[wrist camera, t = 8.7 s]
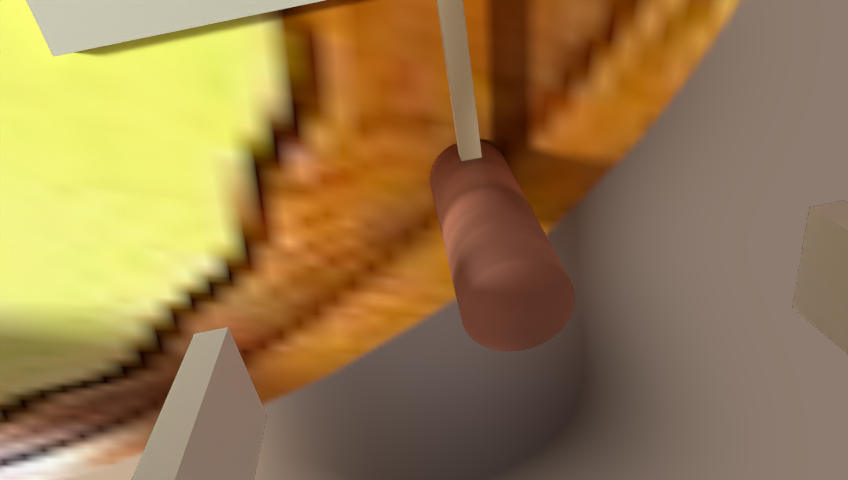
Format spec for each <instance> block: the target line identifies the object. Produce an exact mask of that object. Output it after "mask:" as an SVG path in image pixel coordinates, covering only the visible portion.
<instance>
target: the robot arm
mask: <svg viewBox="0 0 848 480" xmlns="http://www.w3.org/2000/svg"><path fill="white" fill-rule="evenodd" d="M792 308H793V309H795V310H796V311H797V312H798V313H799V314H801V315H802V316H803V317H804V318H805V319H807V320H808V321H809V322H810V323H811V324H812V325H814V326H815V327H816V328H818V330H820V331H821V332H822V333H823V334H824V335H825V336H827V337H828V338H829V339H830V340H831V341H833V342H834V343H835V344H836V345H837V346H839V347H840V348H841V349H842V350H843V351H844V352H846V353H847V354H848V203H847V202H845V201H844V200H843V201H838V202H833V203H828V204H823V205H818V206H813V207H810V208H809V213H808V218H807V224H806V230H805V236H804V242H803V248H802V253H801V259H800V265H799V271H798V276H797V282H796V288H795V294H794V299H793V306H792ZM266 418H267V415H266V413H265V410H264V408H263V405H262V403H261V401H260V399H259V396H258V394H257V392H256V389H255V387H254V385H253V383H252V380H251V378H250V376H249V373H248V371H247V369H246V367H245V364H244V362H243V360H242V357H241V355H240V353H239V350H238V348H237V346H236V344H235V341H234V339H233V337H232V334H231V332H230V330H229V328H228V327H226V328H221V329H216V330H211V331H206V332H201V333H197V334H194V336H193V338H192V340H191V343H190V345H189V347H188V350H187V352H186V354H185V357H184V359H183V361H182V363H181V366H180V368H179V370H178V373H177V375H176V377H175V380H174V382H173V384H172V387H171V389H170V391H169V394H168V396H167V398H166V401H165V403H164V405H163V407H162V410H161V412H160V414H159V417H158V419H157V421H156V424H155V426H154V428H153V431H152V433H151V435H150V438H149V440H148V442H147V445H146V447H145V449H144V451H143V454H142V456H141V458H140V461H139V463H138V466H137V468H136V470H135V472H134V475H133V477H132V479H131V480H254V477H255V473H256V468H257V463H258V458H259V453H260V448H261V443H262V438H263V433H264V428H265V423H266Z"/></svg>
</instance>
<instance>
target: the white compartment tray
mask: <svg viewBox="0 0 848 480" xmlns="http://www.w3.org/2000/svg"><path fill="white" fill-rule="evenodd" d="M26 1H27V3H28V5H29V7H30V9H31V11H32V13H33V16H34V18H35V20H36V22H37V24H38V26H39V28H40V30H41V32H42V34H43V36H44V38H45V41H46V43H47V45H48V47H49V49H50V51H51V53H52V55H53V56H58V55H63V54H68V53H73V52H78V51H83V50H87V49H92V48H97V47H102V46H107V45H112V44H116V43H121V42H126V41H131V40H136V39H141V38H145V37H150V36H155V35H160V34H165V33H170V32H175V31H179V30H184V29H189V28H194V27H199V26H204V25H208V24H213V23H218V22H223V21H228V20H233V19H237V18H242V17H247V16H252V15H257V14H262V13H267V12H271V11H276V10H281V9H286V8H291V7H296V6H300V5H305V4H310V3H315V2H320V1H325V0H26Z"/></svg>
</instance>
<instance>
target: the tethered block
mask: <svg viewBox="0 0 848 480" xmlns="http://www.w3.org/2000/svg"><path fill="white" fill-rule="evenodd" d="M436 1H437V8H438V15H439V22H440V29H441V36H442V42H443V49H444V56H445V63H446V70H447V77H448V84H449V91H450V98H451V104H452V111H453V118H454V125H455V132H456V139H457V143H456V144H454V145H452V146H450V147H448V148H447V149H446V150H444V151H443V152H442V153H441V154H440V155H439V156H438V158H437V159H436V161H435V162H434V164H433V167H432V170H431V174H430V184H431V189H432V193H433V198H434V202H435V206H436V211H437V215H438V219H439V224H440V228H441V232H442V237H443V241H444V245H445V250H446V254H447V258H448V263H449V267H450V271H451V276H452V280H453V284H454V289H455V293H456V297H457V302H458V306H459V310H460V314H461V318H462V323H463V325H464V328H465V330H466V331H467V333H468V334H469V336H470V337H471V338H472V339H474V340H475V341H476V342H477V343H479V344H481V345H483V346H485V347H487V348H490V349H493V350H499V351H520V350H525V349H529V348H532V347H535V346H537V345H540V344H542V343H544V342H546V341H547V340H549V339H551V338H552V337H553V336H555V335H556V334H557V333H558V332H559V331H560V330H561V329H562V328H563V327H564V326H565V324H566V323H567V322H568V320H569V318H570V316H571V314H572V312H573V309H574V304H575V292H574V288H573V286H572V283H571V281H570V279H569V278H568V276H567V274H566V272H565V270H564V268H563V266H562V265H561V263H560V261H559V259H558V257H557V255H556V253H555V251H554V250H553V248H552V246H551V244H550V242H549V240H548V238H547V237H546V235H545V233H544V231H543V229H542V227H541V225H540V224H539V222H538V220H537V218H536V216H535V214H534V212H533V210H532V209H531V207H530V205H529V203H528V201H527V199H526V197H525V196H524V194H523V192H522V190H521V188H520V186H519V184H518V183H517V181H516V179H515V177H514V175H513V173H512V171H511V170H510V168H509V166H508V164H507V162H506V160H505V158H504V157H503V155H502V154H501V152H500V151H499V150H498V149H496V148H495V147H494V146H492V145H490V144H488V143H486V142H482V141H480V137H479V129H478V121H477V113H476V105H475V96H474V88H473V80H472V72H471V63H470V55H469V47H468V39H467V30H466V22H465V14H464V6H463V0H436Z"/></svg>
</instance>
